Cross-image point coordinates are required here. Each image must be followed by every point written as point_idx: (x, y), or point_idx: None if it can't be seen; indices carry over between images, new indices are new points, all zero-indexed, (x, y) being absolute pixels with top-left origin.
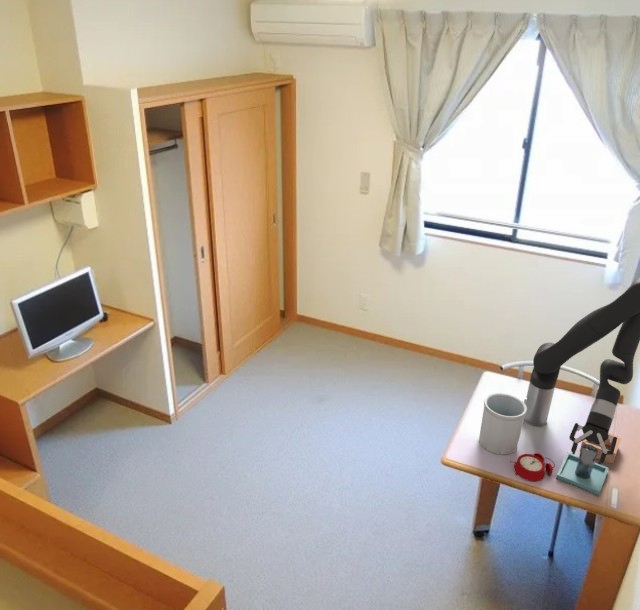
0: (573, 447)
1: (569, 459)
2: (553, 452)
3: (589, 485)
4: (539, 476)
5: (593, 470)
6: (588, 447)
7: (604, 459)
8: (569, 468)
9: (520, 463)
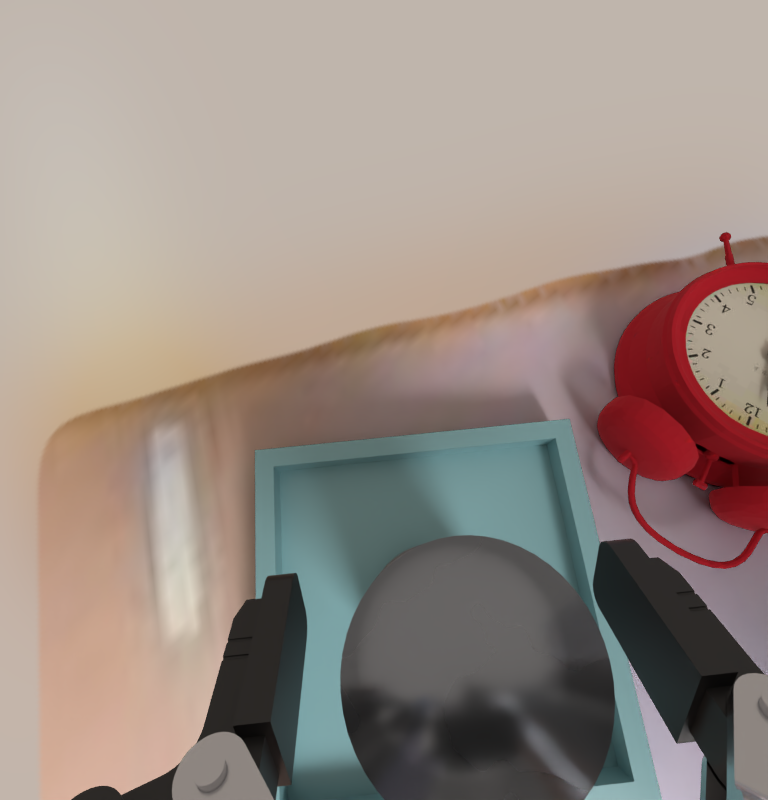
0: (685, 609)
1: None
2: None
3: (344, 504)
4: (643, 332)
5: None
6: (514, 712)
7: (227, 655)
8: None
9: None
